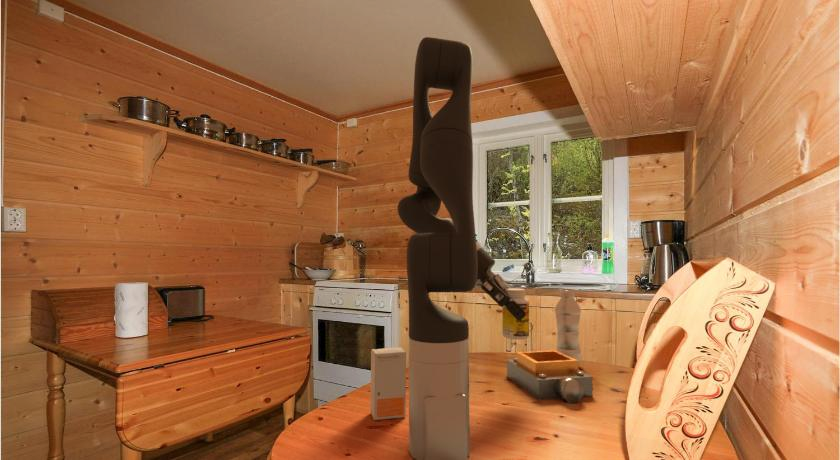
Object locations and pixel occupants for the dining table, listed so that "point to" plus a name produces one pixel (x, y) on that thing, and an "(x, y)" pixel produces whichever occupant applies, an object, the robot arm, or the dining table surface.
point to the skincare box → (388, 383)
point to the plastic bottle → (568, 324)
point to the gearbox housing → (550, 375)
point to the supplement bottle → (510, 323)
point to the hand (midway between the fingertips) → (524, 315)
